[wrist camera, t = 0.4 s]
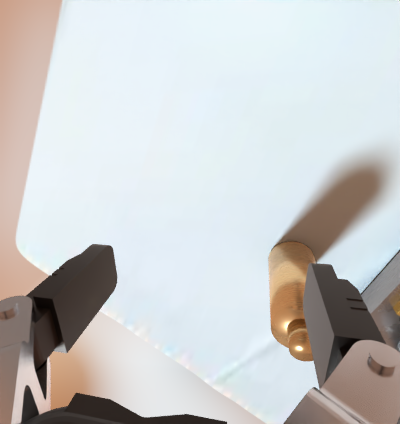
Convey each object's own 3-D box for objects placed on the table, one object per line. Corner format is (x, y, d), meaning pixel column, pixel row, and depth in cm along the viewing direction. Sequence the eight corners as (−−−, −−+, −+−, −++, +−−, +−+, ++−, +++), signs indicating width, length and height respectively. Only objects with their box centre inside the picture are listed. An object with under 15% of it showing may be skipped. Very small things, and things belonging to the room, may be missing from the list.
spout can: (280, 234, 31) (291, 316, 20) (323, 252, 31) (355, 343, 20) (261, 267, 33) (260, 356, 23) (300, 284, 33) (318, 381, 22)
